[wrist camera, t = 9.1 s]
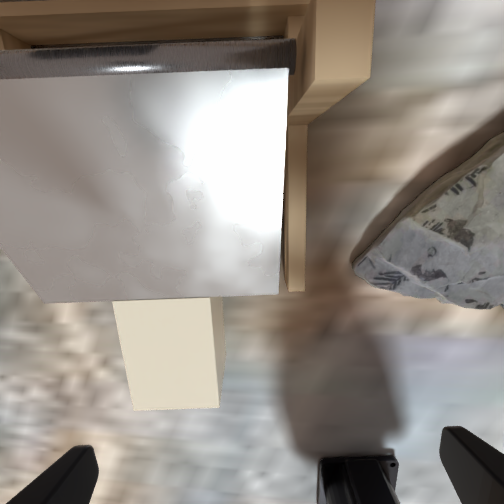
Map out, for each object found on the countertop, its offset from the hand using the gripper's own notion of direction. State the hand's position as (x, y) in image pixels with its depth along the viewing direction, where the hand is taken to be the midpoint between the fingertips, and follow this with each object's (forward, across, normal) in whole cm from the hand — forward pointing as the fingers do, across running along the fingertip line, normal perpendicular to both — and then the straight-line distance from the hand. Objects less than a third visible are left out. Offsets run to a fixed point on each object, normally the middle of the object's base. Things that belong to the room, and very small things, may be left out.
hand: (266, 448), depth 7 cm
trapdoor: (+6, +5, -8) cm, 11 cm away
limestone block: (+10, +5, -1) cm, 11 cm away
